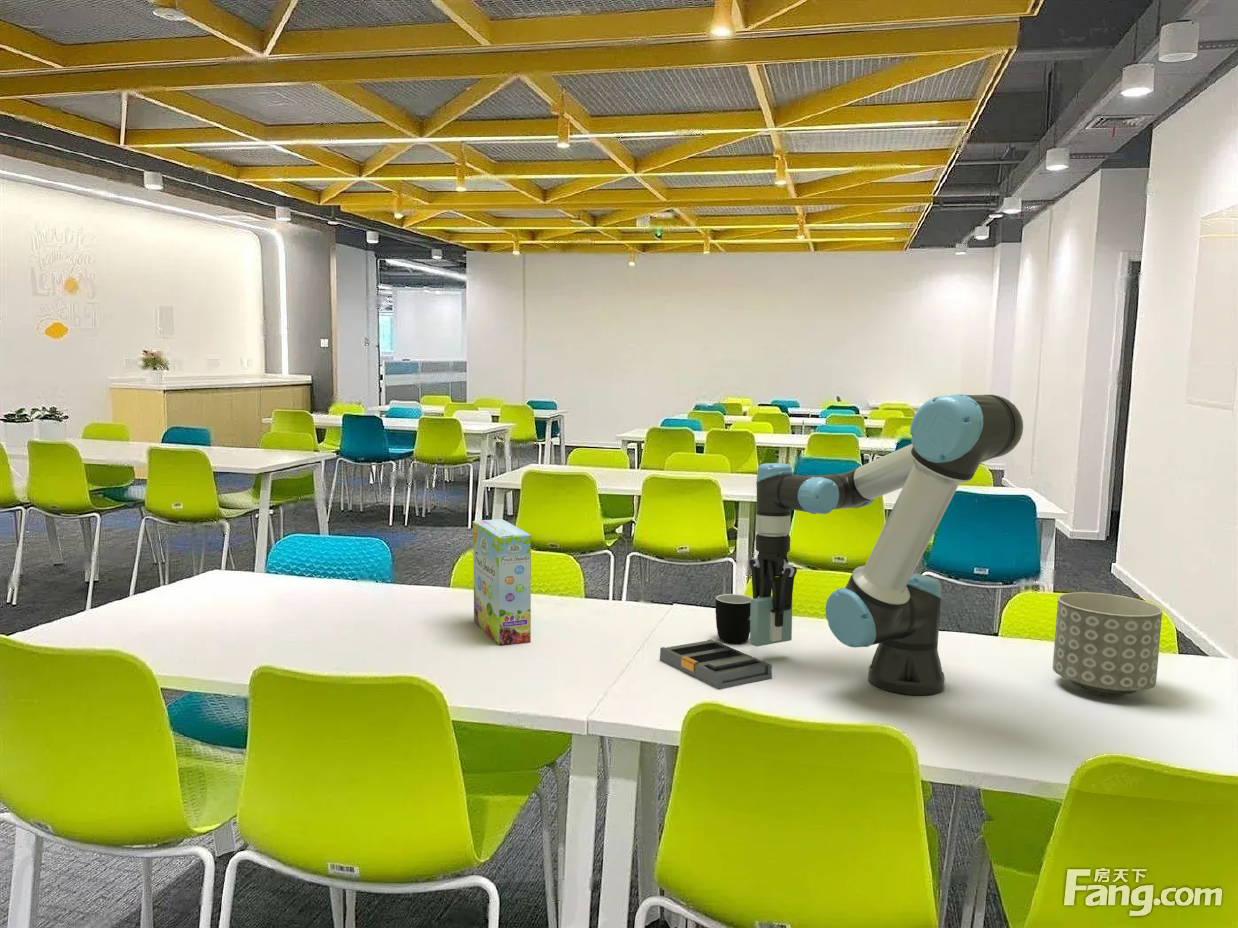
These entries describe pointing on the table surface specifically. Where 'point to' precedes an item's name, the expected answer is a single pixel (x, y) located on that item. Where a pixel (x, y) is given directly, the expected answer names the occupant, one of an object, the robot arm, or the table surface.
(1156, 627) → the planter
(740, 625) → the mug
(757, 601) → the block
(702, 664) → the rack
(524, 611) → the snack box
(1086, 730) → the table surface
